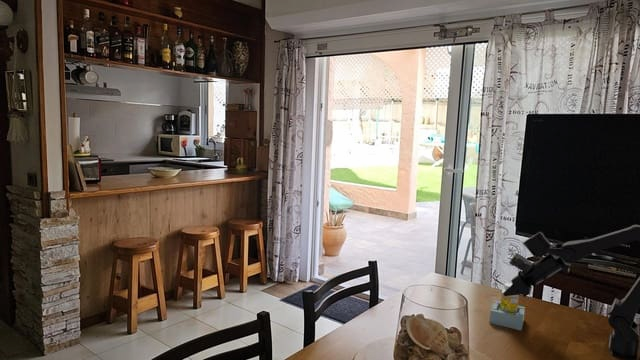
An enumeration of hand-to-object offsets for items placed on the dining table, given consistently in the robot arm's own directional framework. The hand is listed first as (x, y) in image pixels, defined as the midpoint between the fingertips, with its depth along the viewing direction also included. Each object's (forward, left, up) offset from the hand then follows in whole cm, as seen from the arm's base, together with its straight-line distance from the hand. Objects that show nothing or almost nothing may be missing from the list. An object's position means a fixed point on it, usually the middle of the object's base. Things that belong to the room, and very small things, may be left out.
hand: (505, 292), depth 149 cm
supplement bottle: (-1, 0, -7) cm, 7 cm away
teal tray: (-1, 0, -10) cm, 10 cm away
